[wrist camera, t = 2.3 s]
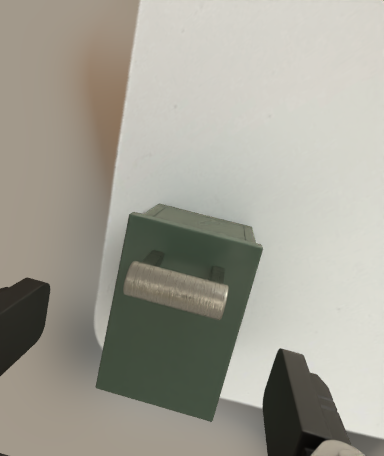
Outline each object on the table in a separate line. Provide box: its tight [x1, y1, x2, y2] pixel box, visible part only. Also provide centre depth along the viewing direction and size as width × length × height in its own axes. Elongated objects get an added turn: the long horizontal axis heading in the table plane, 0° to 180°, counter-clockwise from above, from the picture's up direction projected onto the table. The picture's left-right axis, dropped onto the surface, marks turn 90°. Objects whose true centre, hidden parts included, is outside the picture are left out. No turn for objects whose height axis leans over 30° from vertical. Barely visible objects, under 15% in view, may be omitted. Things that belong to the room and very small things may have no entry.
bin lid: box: [96, 212, 263, 422], centre depth 18 cm, size 12×8×5 cm, turn 167°
